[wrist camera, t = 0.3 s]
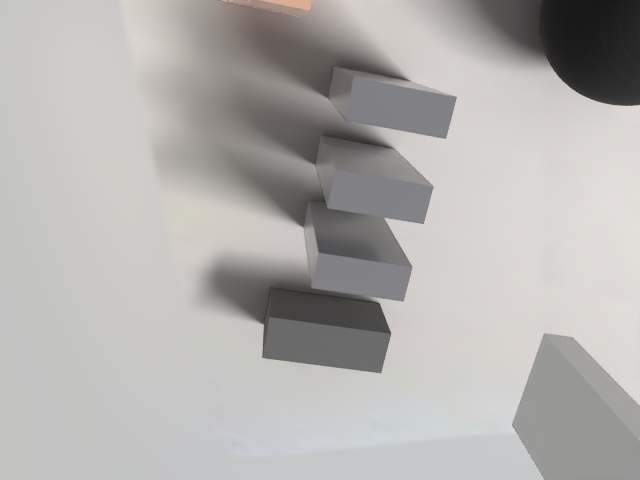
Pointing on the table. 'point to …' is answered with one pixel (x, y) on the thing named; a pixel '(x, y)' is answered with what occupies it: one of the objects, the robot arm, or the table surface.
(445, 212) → the table surface
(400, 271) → the domino
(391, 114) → the domino
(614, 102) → the black ball
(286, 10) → the domino
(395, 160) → the domino
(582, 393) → the robot arm
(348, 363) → the block
